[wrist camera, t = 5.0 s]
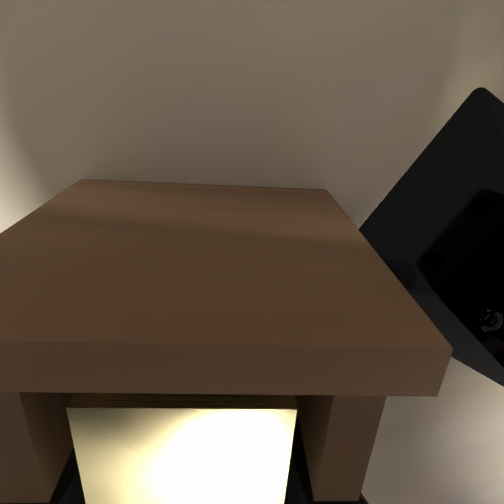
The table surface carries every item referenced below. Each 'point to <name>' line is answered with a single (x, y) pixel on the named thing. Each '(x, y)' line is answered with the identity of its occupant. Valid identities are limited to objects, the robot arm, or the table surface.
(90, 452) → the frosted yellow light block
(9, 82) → the table surface
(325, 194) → the socket
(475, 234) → the black recessed box
